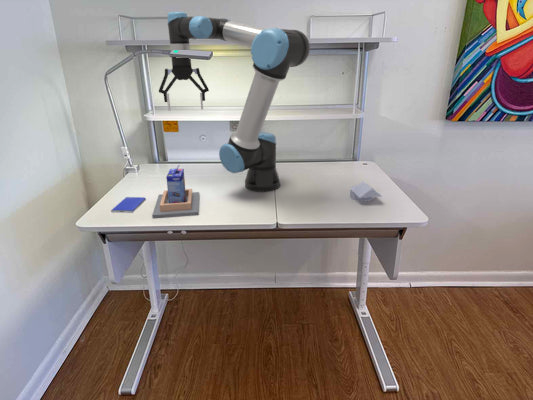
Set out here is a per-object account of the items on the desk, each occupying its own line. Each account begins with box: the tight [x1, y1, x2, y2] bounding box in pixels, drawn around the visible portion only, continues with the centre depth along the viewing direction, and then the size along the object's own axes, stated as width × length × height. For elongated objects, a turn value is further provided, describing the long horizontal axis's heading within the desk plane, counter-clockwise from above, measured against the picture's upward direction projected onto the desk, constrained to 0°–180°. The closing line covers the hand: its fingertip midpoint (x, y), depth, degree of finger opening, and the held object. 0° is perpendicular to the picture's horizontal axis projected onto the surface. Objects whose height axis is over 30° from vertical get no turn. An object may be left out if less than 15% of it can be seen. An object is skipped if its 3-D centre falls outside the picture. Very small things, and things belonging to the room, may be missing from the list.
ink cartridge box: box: [165, 164, 186, 203], centre depth 135 cm, size 10×6×14 cm, turn 6°
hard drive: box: [110, 196, 147, 214], centre depth 139 cm, size 2×8×12 cm
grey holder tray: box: [151, 188, 200, 219], centre depth 138 cm, size 16×20×4 cm
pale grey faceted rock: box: [349, 181, 382, 202], centre depth 141 cm, size 9×7×13 cm
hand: (185, 109), depth 153 cm, fingers open, 13 cm apart
